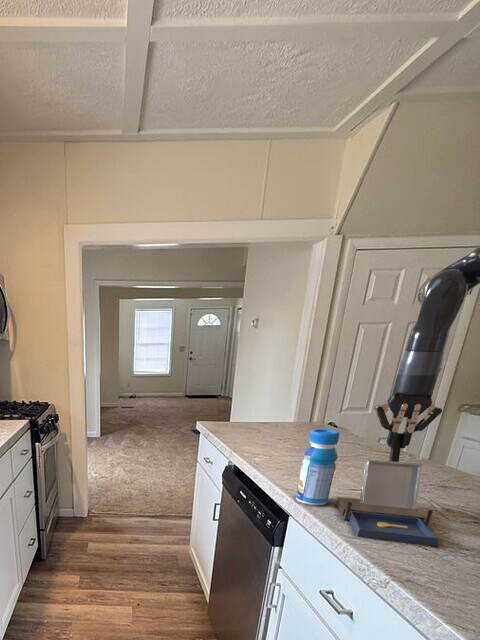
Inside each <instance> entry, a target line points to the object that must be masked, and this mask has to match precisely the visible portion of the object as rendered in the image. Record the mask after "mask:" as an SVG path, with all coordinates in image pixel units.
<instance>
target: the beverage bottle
mask: <svg viewBox="0 0 480 640" xmlns="http://www.w3.org/2000/svg"><path fill="white" fill-rule="evenodd" d="M339 439H340V432H339V431H337V430H334V429H324V428H317V429H312V430H311V432H310V437H309V443H310V445H309V446H308V447H307V448H306V449H305V451H304V453H303V458H304V459H302V462H301V464H300V467H301V468H300V474H299V480H298V484H297V489H296V495H295V499H296V501H297V502H299V503H302V504H305V505H311V506H323V505H326V504H327V503H328V502H329V497H330V492H331V488H332V483H333V479H334V475H335V471H336V468H337V464H336V462H337V460H338V457H339V456H338V452H337V448H336V447H335V446H337V445H338V443H339Z"/></svg>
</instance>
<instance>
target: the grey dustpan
mask: <svg viewBox="0 0 480 640" xmlns="http://www.w3.org/2000/svg"><path fill="white" fill-rule="evenodd" d="M402 435H403V432H402V433H401V432H398V436H397V439H396V443H395V446H394V448H390V450H389V451H390V452H389V459H388V460H377V459H368V460H366V461H365V465H364V471H363V478H362V484H361V493H360V498H359V499H360V504H364V505H374V506H383V507H393V508H403V509H416V510H417V503H418V502H417V501H418V495H419V488H420V481H421V473H422V466H423V463H419V462H408V461H407V462H404V461H400V456H401V449H402V448H401V442H402Z"/></svg>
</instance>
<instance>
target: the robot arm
mask: <svg viewBox="0 0 480 640" xmlns="http://www.w3.org/2000/svg"><path fill="white" fill-rule="evenodd" d="M478 285H480V245H479V246H477V247H476V248H475V249H474V250H472V251H471V252H469V253H468V254H466V255H465V256H463V257H461V258H460V259H458V260H456V261H454V262H452V263H451V264H450V265H448V266H446V267H445V268H443V269H441V270H439V271H437V273H434V274H433V275H431V276H430V277H429V278H427V279H426V280H425V281H424V282H423V283H422V284H421V286H420V287H419V289H418V291H417V296H416V299H417V302H418V305H419V306H420V310H419V313H418V315H417V320H416V321H415V323H414V325H413V326H412V327H411V328H410V331H409V335H408V339H407V340H406V341H407V342H406V345H405V349H404V352H403V355H402V358H401V360H400V363H399V366H398V369H397V373H396V377H395V381H394V385H393V387H392V392H391V396H389V398H388V400H387V401H386V402H384V403H381V404H376V405H375V406H374V411H375V414H376V417H377V419H378V421H379V423H380V426H381V427H382V428H383V429H384V430H387V431H388V435H387V439H386V444H387V446H388V448H390V449H391V448H394V446H395V443H396V439H397V436H398V433H399V432H398V431H399V428H400V426H401V424H402V422H403V420H404V418H405V426H404V431H402V433H403V435H402V442H401V449H406V447H408V446H409V445H410V443H411V440H412V437H413V434H414V433H415V432H422V431H424V430H425V429H426V427H428V426H429V425H430V424H431V423H433V422H434V420H435V419H436V418H438V416H440V414H442V413H443V409H442V408H441V407H438V406H436V405H434V404H433V398H432V397H433V394H434V391H435V388H436V383H437V381H438V379H439V374H440V372H441V371H442V365H443V360H444V353H445V350H446V346H447V344H448V340H449V337H450V333H451V330H452V326H453V324H454V322H455V320H456V318H457V316H458V314H459V312H460V310H461V308H462V306H463V303H464V301H465V298H466V296H467V292H469V291H470V290H472V289H473V288H475V287H477V286H478ZM388 408H389V410H390V411H391V413H392V416H391V422H390V423H389V420H388V418H387V415H386V413H388ZM425 411H426V414H425V415H424V416H423V417H422V418H421V419H420V420H419V421H418V419H419V416H421V414H422V413H424V412H425Z"/></svg>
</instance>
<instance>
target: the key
mask: <svg viewBox="0 0 480 640" xmlns="http://www.w3.org/2000/svg"><path fill="white" fill-rule="evenodd" d="M377 525H378V526H380V527H384V528H389V527H394V528H403V529H408V527H407V526H402V525H393V524H388V523H385V522H378V523H377Z"/></svg>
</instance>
